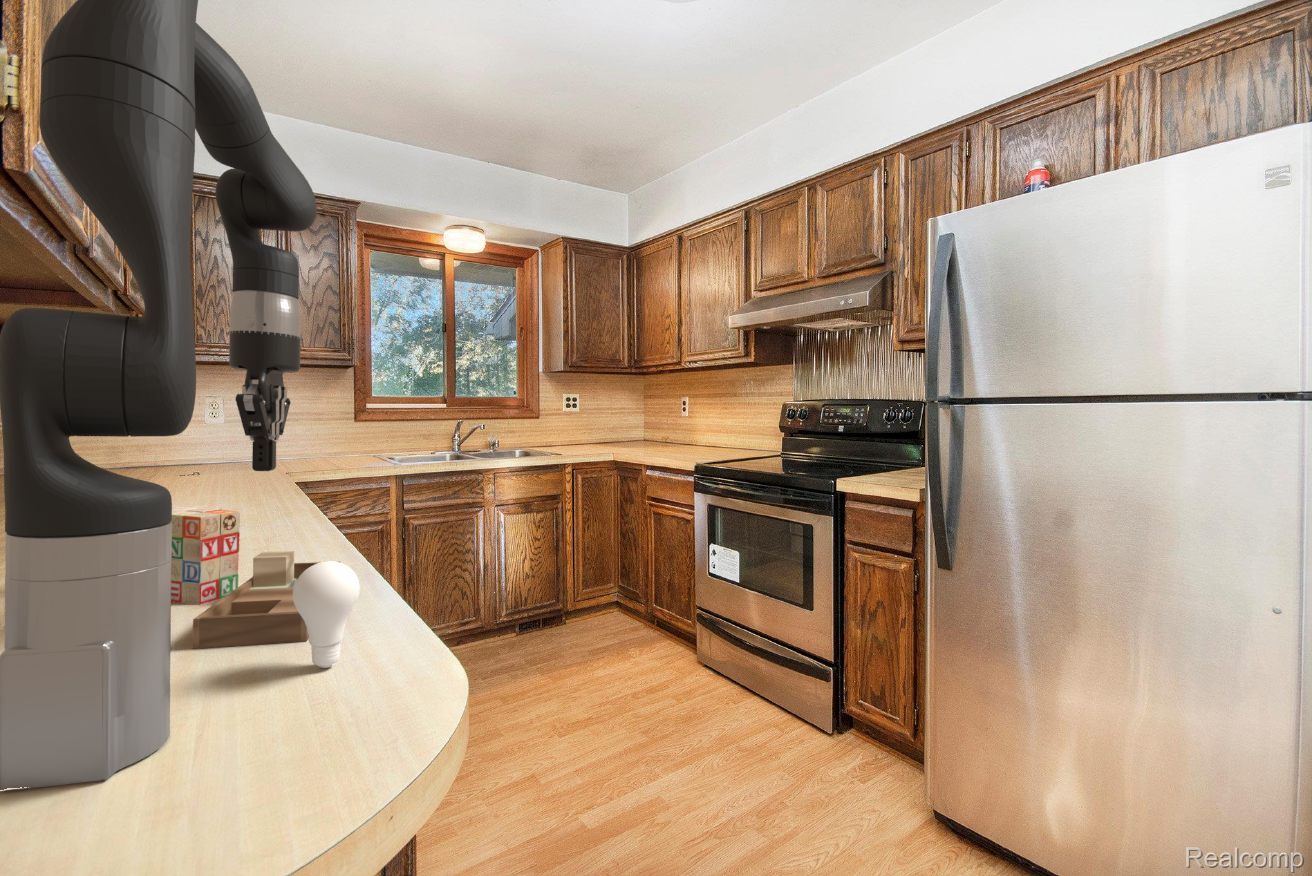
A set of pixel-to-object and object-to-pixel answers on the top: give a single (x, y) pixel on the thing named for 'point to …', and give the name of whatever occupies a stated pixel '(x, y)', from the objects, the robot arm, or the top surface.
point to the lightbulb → (326, 607)
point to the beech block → (273, 568)
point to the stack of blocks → (204, 554)
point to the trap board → (252, 616)
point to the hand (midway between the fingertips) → (264, 470)
